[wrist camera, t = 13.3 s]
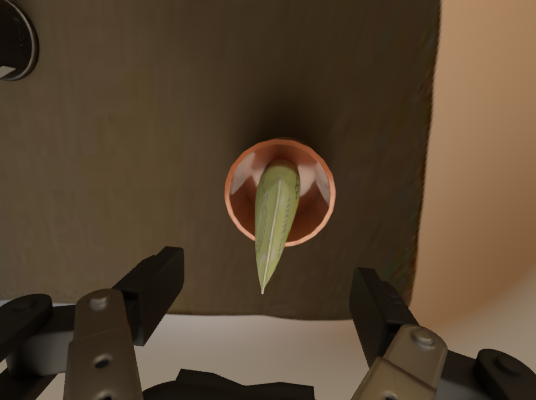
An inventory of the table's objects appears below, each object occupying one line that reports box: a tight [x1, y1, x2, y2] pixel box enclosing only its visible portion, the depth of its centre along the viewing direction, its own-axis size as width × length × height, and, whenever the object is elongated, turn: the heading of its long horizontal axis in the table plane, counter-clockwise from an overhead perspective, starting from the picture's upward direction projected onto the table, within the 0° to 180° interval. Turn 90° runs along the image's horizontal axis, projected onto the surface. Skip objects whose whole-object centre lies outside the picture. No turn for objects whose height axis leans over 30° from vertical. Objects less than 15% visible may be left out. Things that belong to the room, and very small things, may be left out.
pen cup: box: [225, 137, 336, 247], centre depth 31 cm, size 11×11×9 cm
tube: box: [255, 159, 300, 294], centre depth 25 cm, size 6×5×20 cm
